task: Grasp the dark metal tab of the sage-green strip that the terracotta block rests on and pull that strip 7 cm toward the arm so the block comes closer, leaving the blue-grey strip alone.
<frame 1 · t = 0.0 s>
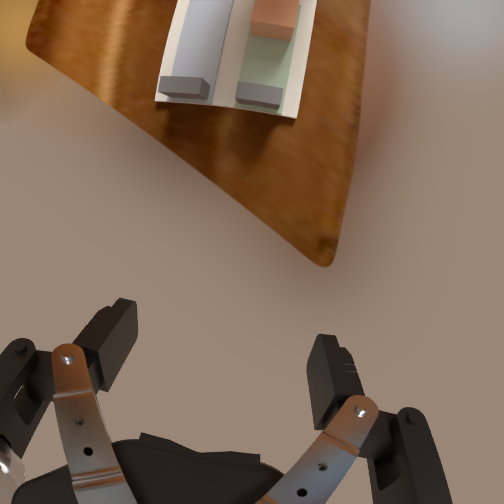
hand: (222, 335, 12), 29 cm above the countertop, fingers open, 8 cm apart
block strip: (269, 45, 28), point 4 cm above the countertop, slide at 0.0 cm, touching block
block: (274, 22, 28), point 2 cm above the countertop, touching block strip
lane board: (240, 26, 30), on the countertop
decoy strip: (196, 38, 28), point 4 cm above the countertop, slide at 0.0 cm
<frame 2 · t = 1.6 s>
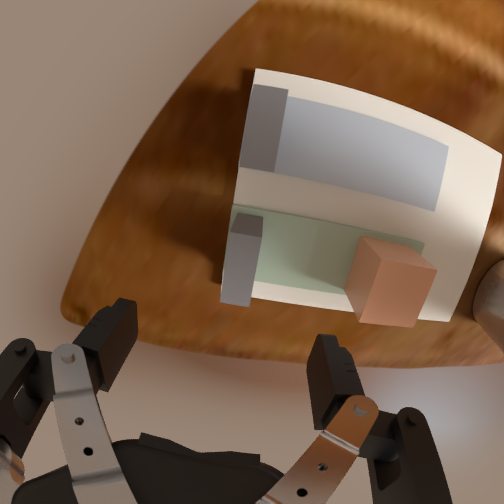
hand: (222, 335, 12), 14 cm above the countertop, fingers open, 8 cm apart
block strip: (335, 270, 21), point 4 cm above the countertop, slide at 0.0 cm, touching block
block: (377, 268, 23), point 2 cm above the countertop, touching block strip
lane board: (379, 211, 23), on the countertop
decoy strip: (364, 152, 18), point 4 cm above the countertop, slide at 0.0 cm
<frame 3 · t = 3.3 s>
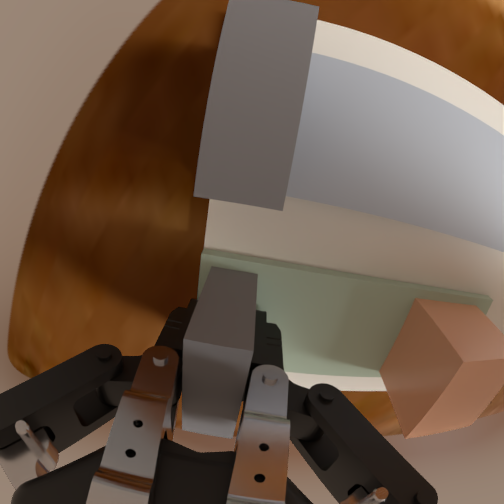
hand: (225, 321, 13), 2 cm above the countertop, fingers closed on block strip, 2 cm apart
block strip: (377, 363, 11), point 4 cm above the countertop, slide at 0.0 cm, touching block, gripper
block: (430, 339, 14), point 2 cm above the countertop, touching block strip
lane board: (439, 253, 14), on the countertop
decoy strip: (450, 162, 8), point 4 cm above the countertop, slide at 0.0 cm
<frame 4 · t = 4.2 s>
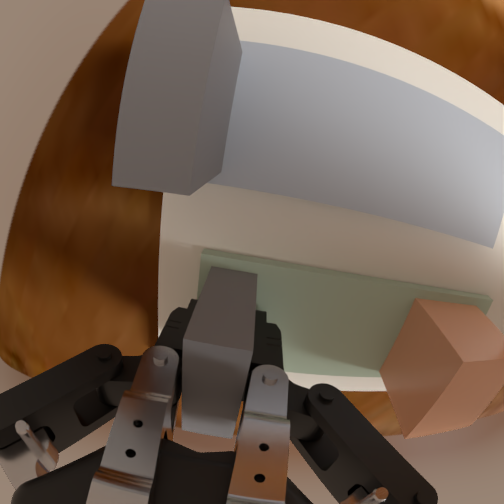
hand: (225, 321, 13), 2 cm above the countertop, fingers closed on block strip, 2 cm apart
block strip: (377, 363, 11), point 4 cm above the countertop, slide at 2.1 cm, touching block, gripper
block: (430, 339, 14), point 2 cm above the countertop, touching block strip
lane board: (411, 247, 14), on the countertop
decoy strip: (404, 144, 8), point 4 cm above the countertop, slide at 0.0 cm
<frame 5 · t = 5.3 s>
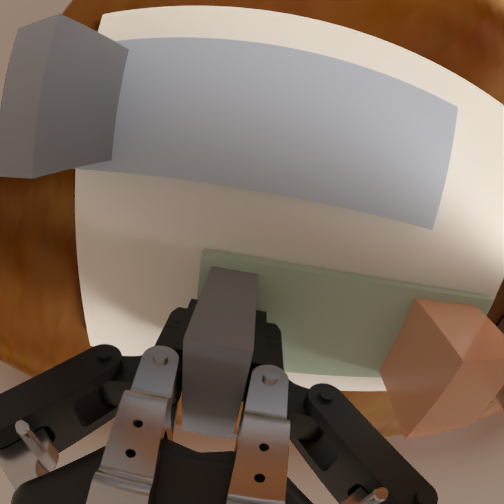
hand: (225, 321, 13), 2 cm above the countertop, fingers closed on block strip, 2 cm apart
block strip: (377, 363, 11), point 4 cm above the countertop, slide at 7.0 cm, touching block, gripper
block: (430, 339, 14), point 2 cm above the countertop, touching block strip
lane board: (328, 229, 14), on the countertop
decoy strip: (260, 107, 8), point 4 cm above the countertop, slide at 0.0 cm
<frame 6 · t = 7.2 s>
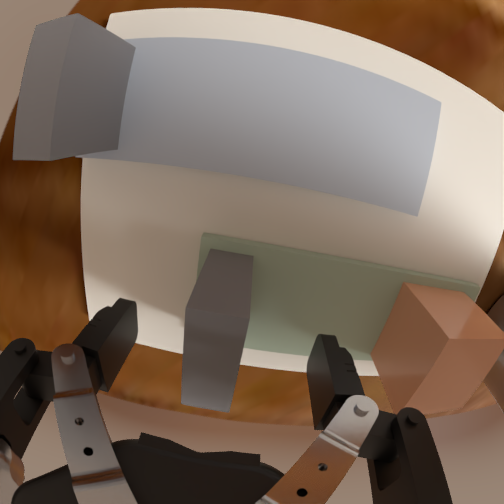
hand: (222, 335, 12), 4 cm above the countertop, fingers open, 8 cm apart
block strip: (367, 343, 13), point 4 cm above the countertop, slide at 7.0 cm, touching block
block: (419, 324, 15), point 2 cm above the countertop, touching block strip
lane board: (318, 216, 15), on the countertop
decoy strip: (256, 101, 9), point 4 cm above the countertop, slide at 0.0 cm
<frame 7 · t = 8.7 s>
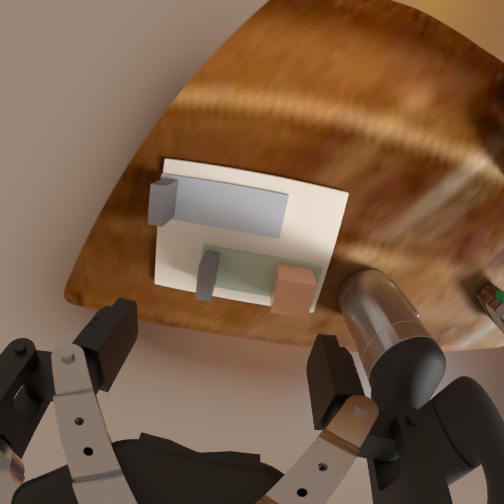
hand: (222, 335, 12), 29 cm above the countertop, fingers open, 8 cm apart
block strip: (259, 283, 39), point 4 cm above the countertop, slide at 7.0 cm, touching block
block: (290, 281, 41), point 2 cm above the countertop, touching block strip
food container: (490, 293, 44), on the countertop
lane board: (244, 238, 41), on the countertop
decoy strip: (217, 209, 36), point 4 cm above the countertop, slide at 0.0 cm
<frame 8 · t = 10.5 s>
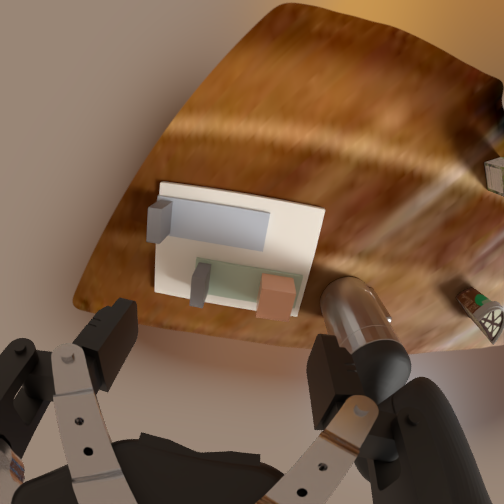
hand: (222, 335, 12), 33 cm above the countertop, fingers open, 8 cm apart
block strip: (246, 291, 44), point 4 cm above the countertop, slide at 7.0 cm, touching block
block: (274, 289, 46), point 2 cm above the countertop, touching block strip
food container: (471, 297, 48), on the countertop
lane board: (233, 251, 46), on the countertop
syrup box: (493, 173, 39), on the countertop
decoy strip: (206, 227, 41), point 4 cm above the countertop, slide at 0.0 cm
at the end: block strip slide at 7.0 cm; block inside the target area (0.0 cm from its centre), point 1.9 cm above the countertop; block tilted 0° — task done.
